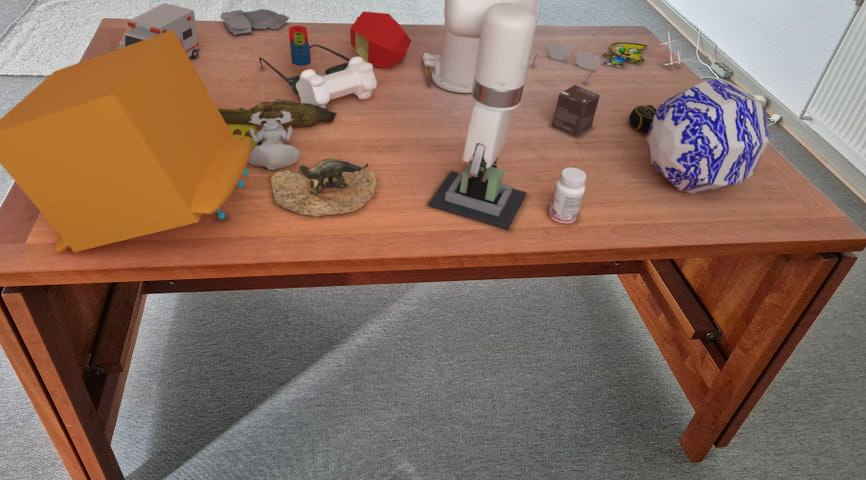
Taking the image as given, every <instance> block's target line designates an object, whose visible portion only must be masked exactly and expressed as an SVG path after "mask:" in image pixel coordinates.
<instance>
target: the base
mask: <svg viewBox="0 0 866 480" xmlns="http://www.w3.org/2000/svg"><path fill="white" fill-rule="evenodd" d="M462 174H463V171H459V172H457V171H454V170H450V171H449V173H448V174H447V176H446V177H445V179H444V180H443V181H442V183H441V184H440V185H439V187H438V189H437V190H436V192H435V193H434V195H433V196H432V197H431V198H430V200H429V201H428V207H430V208H434V209H436V210H440V211H444V212H447V213H450V214H452V215H457V216H460V217H463V218H467V219H470V220H473V221H477V222H479V223H483V224H487V225H489V226H492V227H493V226H494V227H496V228H500V229H502V230H506V231H509V230H510V227H511V225H512V224H513V221H514V220H515V217H516V215H517V213H519V212H518V211H519V210H520V208H521V205H522V204H523V201H524V200H525V197H526V196H527V192H526V191H524V190H520V189H516V188H514V186H512V185H509V184H505V183H502V184H501V189H500V191H499V193H498V195H497V196H496V198H495V200H494V202H492V201H489V200H485V199H484V200H483V201H481V200H478V199H475V198H471V197H468V196H467V195H466V194H465V193H462V192H460V187H461V180H462Z"/></svg>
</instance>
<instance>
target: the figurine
mask: <svg viewBox="0 0 866 480" xmlns="http://www.w3.org/2000/svg"><path fill="white" fill-rule="evenodd" d="M281 112H282V113H283V115H284V116H283V118H279V117H278V118H275V119H271V118H270V119H265V118H263V119H259V115H260V113H261V112H257V113H255V114H254V113H253V115H252V116H253V118H252V116H251V119H252V121H249V122H250V123H252V124H254V125H258V126H261V128H260V129H259V131H257V135H256V136H255V134H254V129H253V130H252V127H251V128H250V132H249V133H250V134H251V136H252V138H253V143H254V142H256V147H254V149H253V150H252V151H251V152H250V156H249V160H248V164H249V165H251V166H254V167H264V168H266V169H267V170H270V171H275V170H278V169H284V168H285V169H286V168H287V167H290V166H293V165H294V164H295V163H297V162H299V160H300V158H301V152H300V150H299V149H298V148H297V147H295V146H293V145H291V144H286V142H288V141H290V140H291V138H292V137H291V136H292V134H293V131H294V129H293V127H291V126H289V127H287V130H286V129H285V128H284V127H285V126H282V125H281V124H284V123H287V122H290V121H292V120H293V119H291V115H290V113H289V112H285V111H281ZM276 120H280V121H281V123H279V122H278V121H276ZM262 121H266V123H265V124H263V125H262V124H261V122H262ZM260 142H261V144H260V145H258V146H257V143H258V144H259V143H260Z"/></svg>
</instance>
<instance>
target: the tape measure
mask: <svg viewBox="0 0 866 480" xmlns="http://www.w3.org/2000/svg"><path fill="white" fill-rule="evenodd" d="M657 109H658V108H657ZM657 109H656V107H654V106H653V105H652V104H648V105H637V106H636V107H635V108H633V109H632V110H631V112H630V114H629V118H628V121H629V125H630V126H631V127H632V128H633V129H635V130H636V131H637V132H638V131H639V132H641V133H644V134H648V131H649V128H650V126H651V123H652V120H653V117H654V114H655V112H656V111H657Z"/></svg>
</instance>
